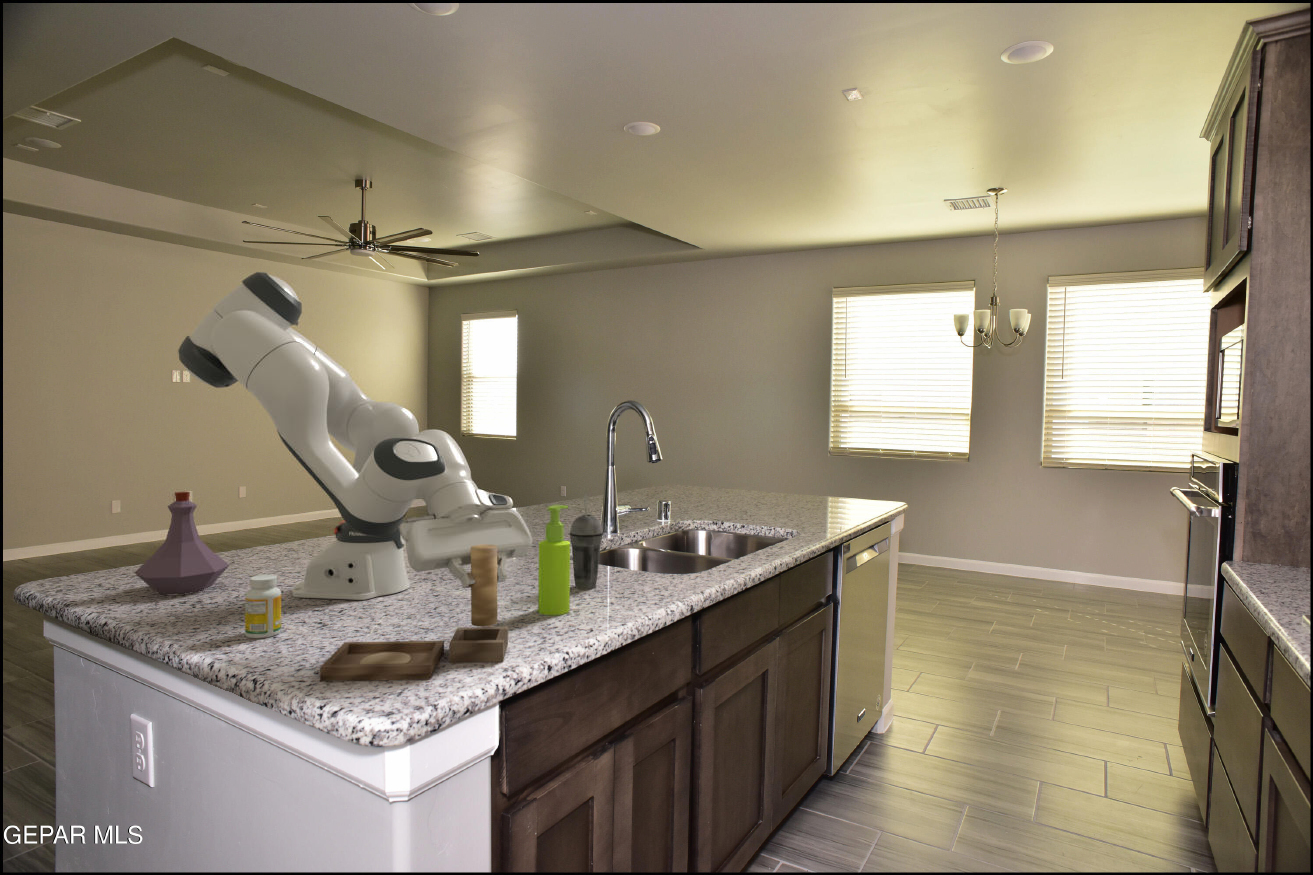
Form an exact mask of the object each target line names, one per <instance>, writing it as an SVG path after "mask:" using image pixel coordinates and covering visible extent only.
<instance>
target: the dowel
mask: <svg viewBox="0 0 1313 875" xmlns="http://www.w3.org/2000/svg"><path fill="white" fill-rule="evenodd" d="M497 567H498V564H497V546H496V545H489V544H483V545H475V546H472V547H471V564H470V573H471V572H472V573H473V575H474V576H473V577H474V578H475V584H474V586H473V587H470V616H471V617H470V618H471V619H470V624H471V626H473V627H492V626H494V625H496V624H498V583H497Z"/></svg>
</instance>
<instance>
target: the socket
mask: <svg viewBox="0 0 1313 875" xmlns="http://www.w3.org/2000/svg"><path fill="white" fill-rule="evenodd" d="M448 643H449V644H448V649H449V650H448V653H449V654H448V659H449V660H448V663H449V664H459V663H465V664H466V663H504V660H505V657H506V653H507V651H508V650H507V649H508V647H509V626H484V627H479V626H463V627H459V626H458V627H456V630H455V631H454V634H453V636H452V637H451V639H450V641H449V642H448Z"/></svg>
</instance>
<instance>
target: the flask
mask: <svg viewBox="0 0 1313 875" xmlns="http://www.w3.org/2000/svg"><path fill="white" fill-rule="evenodd" d="M174 497H175V501H173V502H172V503H171V504H169V505H167V509H168V510H169V512H170V514H171V520H170V525H169V528H168V532H167V535H166V538H165V541H164V542H163V543H162V544H161V546H159V548H158V549H157V550H156V551H155V553H153V554H152V555H151V556H150V558H148V559H146V561H145V562H144V563H143V564H142V565H140V567H139V568H137V570H135V572H134V574H135V575H136V576H137V577H138V578H140V580H142V582H144V583H145V584H146V585H147V586H148V587H149V588H151V589H152V590H153V591H154V592H155V591H156V592H155V593H157V592H158V593H157V594H159V593H160V595H161V594H184V595H186V594H185V593H190V592H196V591H202V590H204V589H206V588H207V589H209V588H211V587H212V586H213V585H214V583H215V582H216V581H217V580H218V579H219V577H221V576H222V574H223V573H224V572H226V570H227V568H229V567H230V564H229V563H227V561H225V560H224V559H223V558H221V557H220V556H219V555H218V554H216V553H215V552H214V551H213V550H212V549H211V548H209V546H208V545H206V543H205V542H203V540H202V539H201V537H200V535H199V532H198V529H197V527H196V523H195V520H194V519H195V518H194V512H195V510H196V508H197V506H198V505H197V504H196V503H194V502H192V501H191V500H190V491H176V492H174ZM210 586H211V587H210ZM208 587H209V588H208ZM207 589H206V590H207ZM204 591H205V590H204ZM202 592H203V591H202ZM196 593H197V592H196ZM190 594H191V593H190Z"/></svg>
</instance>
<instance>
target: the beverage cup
mask: <svg viewBox="0 0 1313 875" xmlns="http://www.w3.org/2000/svg"><path fill="white" fill-rule="evenodd" d="M568 534H569V539H570V545H571V552H572V554H571V555H572V566H573V578H574V579H573V580H574V584H575V585H574V588H575V589H579V590H593V589H596V588H597V583H598V582H597V580H598V573H599V562H600V553H601V552H600V551H601V544H602V540H603V535H604V532H603V526H602V524H601V522H600V520H599V519H598V518H597V517H595V516H594V515H592V514H588V495H587V494H584V514H582V515H580V516H578V517H576V518H575V519H574V520H573V521H572V523H571V526H570V530H569V533H568Z"/></svg>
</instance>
